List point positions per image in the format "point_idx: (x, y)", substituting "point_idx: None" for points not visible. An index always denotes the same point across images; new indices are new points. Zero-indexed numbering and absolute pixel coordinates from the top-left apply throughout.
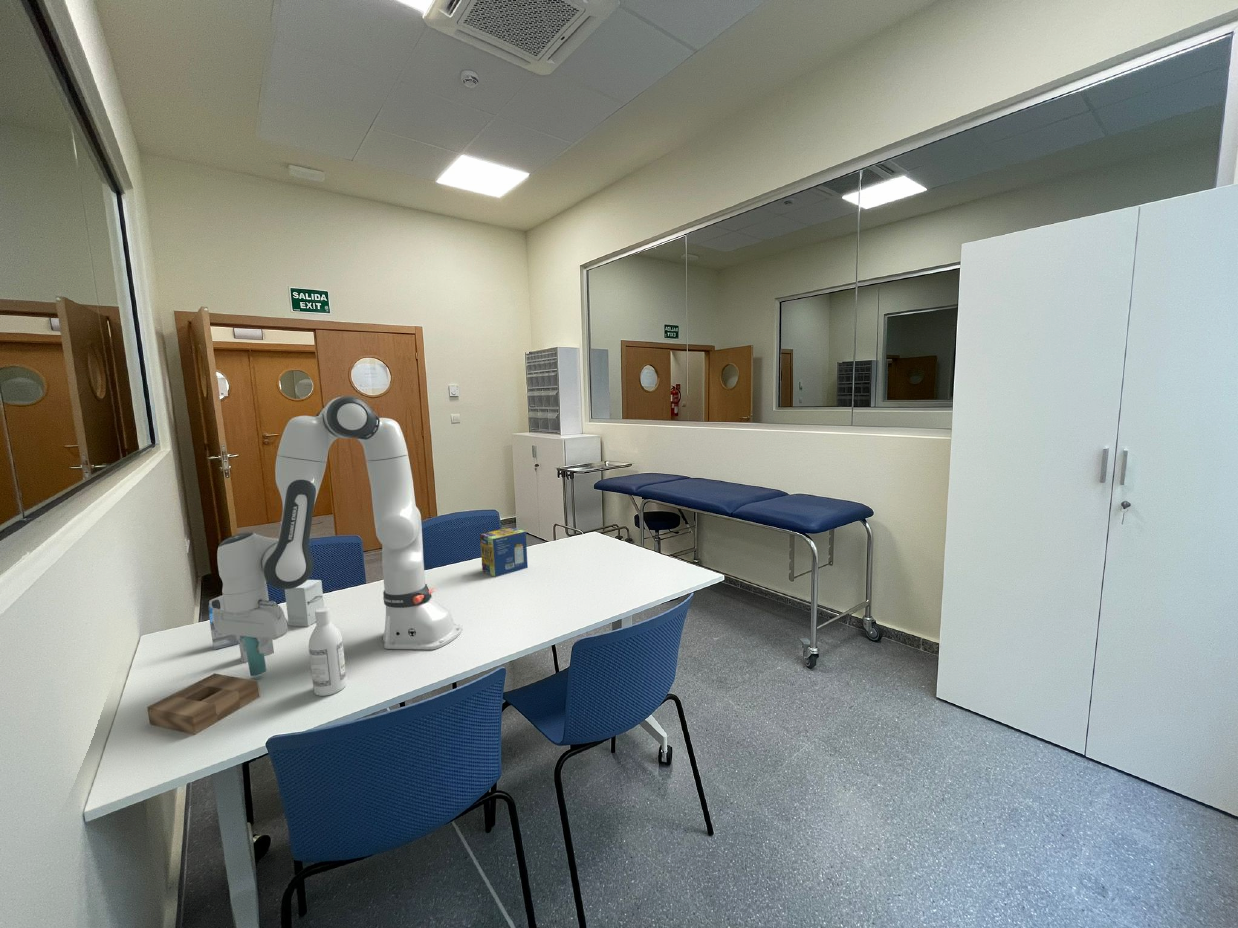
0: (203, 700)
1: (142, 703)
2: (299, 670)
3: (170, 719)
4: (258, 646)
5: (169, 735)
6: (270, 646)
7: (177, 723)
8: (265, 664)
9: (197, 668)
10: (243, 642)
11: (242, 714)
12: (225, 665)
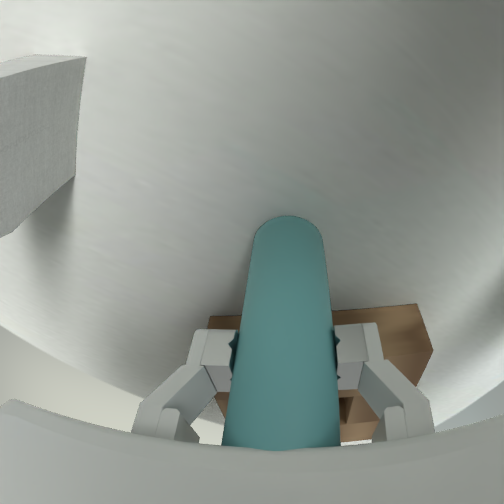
0: (350, 421)
1: (123, 376)
2: (423, 126)
3: None
4: (364, 394)
5: None
6: (59, 75)
7: None
8: (315, 244)
9: (12, 258)
10: (205, 400)
11: None
12: (44, 217)
